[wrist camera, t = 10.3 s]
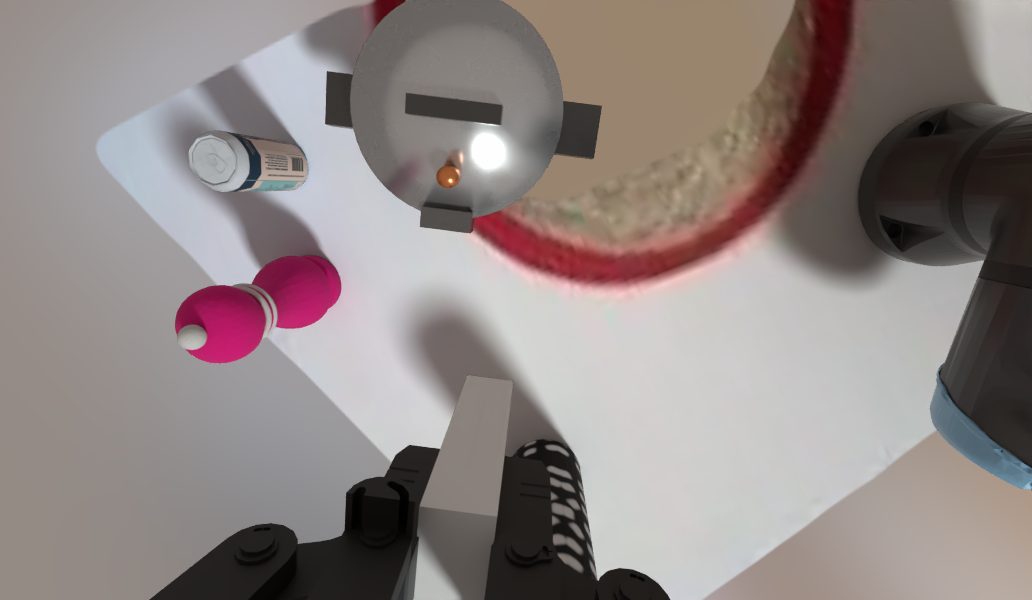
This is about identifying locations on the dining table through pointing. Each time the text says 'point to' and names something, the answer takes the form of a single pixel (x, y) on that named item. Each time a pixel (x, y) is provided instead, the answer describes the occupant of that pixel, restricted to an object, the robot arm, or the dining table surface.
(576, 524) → the white-spotted black cylinder
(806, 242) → the dining table surface
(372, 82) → the pot lid
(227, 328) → the pepper mill
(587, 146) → the cooking pot
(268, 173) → the beer can
